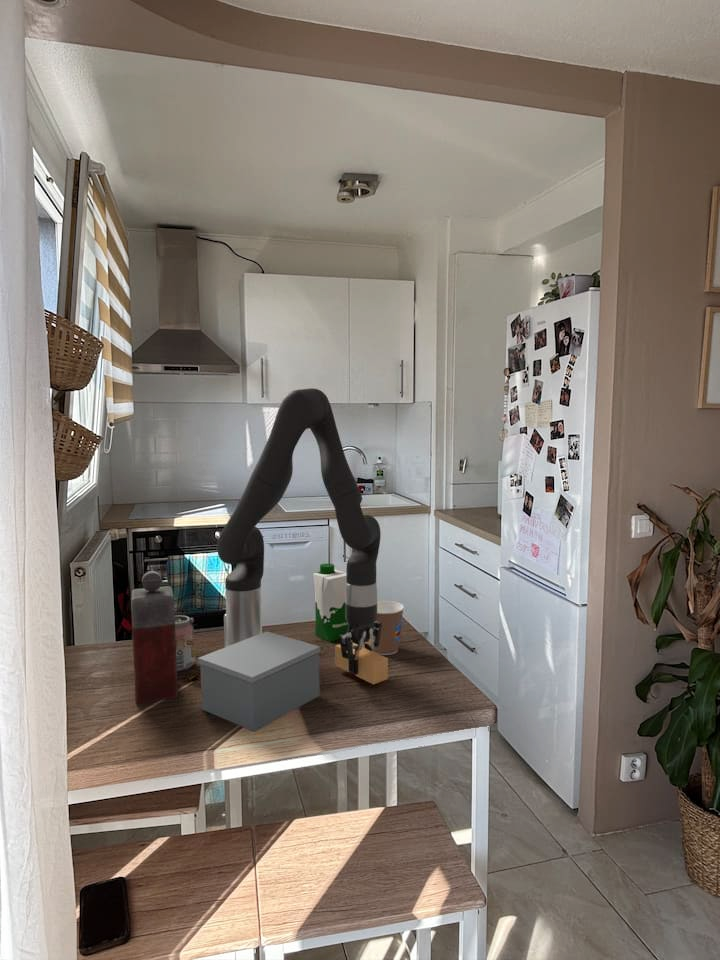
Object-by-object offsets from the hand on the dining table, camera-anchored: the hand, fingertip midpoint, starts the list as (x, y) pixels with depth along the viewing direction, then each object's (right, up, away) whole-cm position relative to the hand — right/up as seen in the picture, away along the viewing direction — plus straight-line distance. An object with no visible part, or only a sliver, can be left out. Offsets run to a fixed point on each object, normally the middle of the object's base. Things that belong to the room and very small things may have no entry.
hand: (361, 669), depth 155 cm
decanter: (-47, -3, -6) cm, 47 cm away
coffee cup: (+6, 0, +18) cm, 19 cm away
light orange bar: (0, -1, 0) cm, 1 cm away
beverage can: (-46, -2, +9) cm, 47 cm away
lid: (-22, +7, -14) cm, 27 cm away
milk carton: (-8, +1, +29) cm, 30 cm away
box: (-22, -4, -12) cm, 25 cm away
